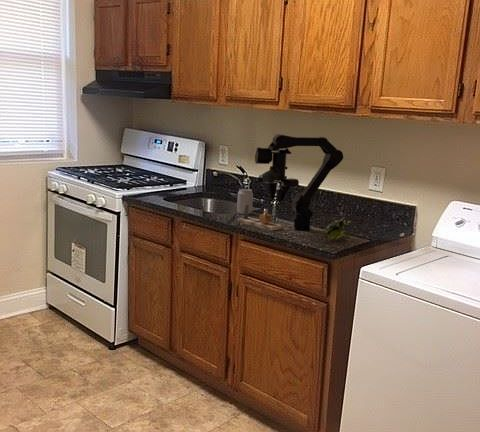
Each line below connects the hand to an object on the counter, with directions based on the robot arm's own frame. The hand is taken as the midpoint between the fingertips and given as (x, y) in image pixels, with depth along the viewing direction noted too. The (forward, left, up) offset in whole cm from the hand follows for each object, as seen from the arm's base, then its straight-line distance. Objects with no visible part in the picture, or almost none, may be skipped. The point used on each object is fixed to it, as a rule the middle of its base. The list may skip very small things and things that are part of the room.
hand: (276, 200), depth 235 cm
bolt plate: (+8, -5, -13) cm, 16 cm away
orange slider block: (+5, -3, -11) cm, 13 cm away
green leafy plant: (-27, +9, -13) cm, 32 cm away
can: (+18, -29, -13) cm, 37 cm away
